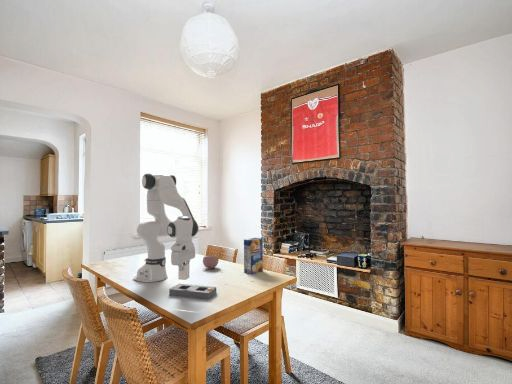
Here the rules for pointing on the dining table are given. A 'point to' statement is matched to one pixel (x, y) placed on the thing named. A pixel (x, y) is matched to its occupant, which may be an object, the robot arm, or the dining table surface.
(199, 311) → the dining table surface
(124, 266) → the dining table surface
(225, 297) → the dining table surface
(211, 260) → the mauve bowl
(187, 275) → the plug
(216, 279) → the dining table surface
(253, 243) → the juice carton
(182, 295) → the power strip
